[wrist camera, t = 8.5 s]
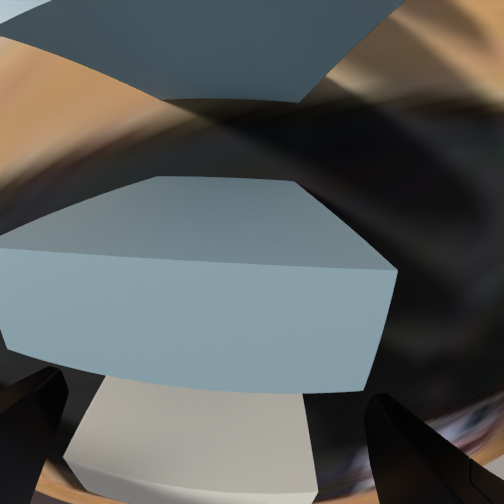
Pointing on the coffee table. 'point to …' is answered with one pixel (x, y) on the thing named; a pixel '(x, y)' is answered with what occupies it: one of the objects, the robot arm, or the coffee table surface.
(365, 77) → the coffee table surface
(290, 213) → the domino
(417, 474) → the robot arm
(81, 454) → the domino
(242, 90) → the domino
